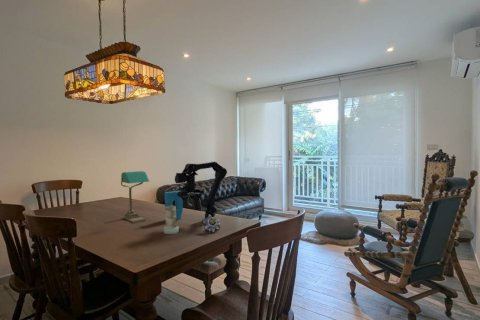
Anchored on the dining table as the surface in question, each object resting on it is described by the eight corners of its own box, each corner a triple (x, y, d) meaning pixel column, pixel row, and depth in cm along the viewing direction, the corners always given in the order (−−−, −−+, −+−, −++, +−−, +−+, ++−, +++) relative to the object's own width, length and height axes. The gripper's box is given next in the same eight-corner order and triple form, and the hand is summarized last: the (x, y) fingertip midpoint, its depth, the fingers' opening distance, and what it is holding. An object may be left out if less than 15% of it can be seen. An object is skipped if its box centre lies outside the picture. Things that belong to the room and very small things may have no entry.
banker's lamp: (139, 215, 210) (138, 170, 208) (151, 220, 194) (150, 171, 193) (118, 218, 199) (117, 171, 197) (129, 224, 184) (127, 173, 182)
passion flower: (213, 240, 165) (204, 228, 159) (204, 233, 173) (195, 220, 167) (226, 228, 169) (218, 215, 163) (217, 221, 178) (209, 208, 172)
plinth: (181, 230, 170) (181, 225, 170) (174, 234, 161) (174, 230, 161) (168, 229, 172) (168, 224, 172) (161, 233, 163) (160, 229, 163)
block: (167, 221, 191) (166, 193, 190) (165, 219, 195) (164, 192, 194) (183, 218, 197) (182, 191, 196) (180, 217, 201) (180, 190, 200)
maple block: (172, 225, 170) (171, 205, 169) (176, 227, 166) (175, 206, 166) (165, 227, 166) (165, 206, 166) (169, 228, 163) (169, 207, 162)
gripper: (193, 180, 194) (194, 201, 194) (171, 182, 179) (172, 205, 180) (204, 181, 186) (204, 203, 187) (182, 183, 172) (182, 208, 173)
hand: (191, 205), depth 182 cm, fingers open, 9 cm apart
